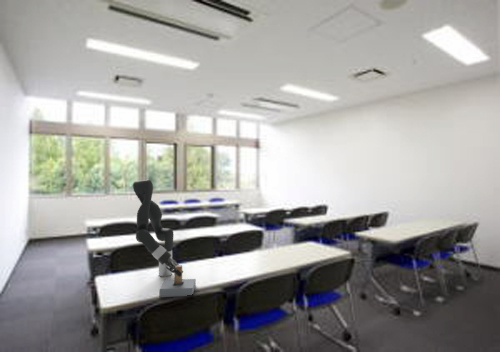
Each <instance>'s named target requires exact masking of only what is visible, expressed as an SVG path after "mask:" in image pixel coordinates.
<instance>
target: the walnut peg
mask: <svg viewBox="0 0 500 352" xmlns="http://www.w3.org/2000/svg"><path fill="white" fill-rule="evenodd" d="M176 268H177V269H178V270H179V271H180V272H181V273H182V271H183V265H182V264H179V265H176ZM173 274H174V275H173V280H174V283H181V282H182V279H183V273H182V275H181V276H180V277H179V276H178V275H177V274H176V273H173Z"/></svg>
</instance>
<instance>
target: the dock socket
mask: <svg viewBox="0 0 500 352" xmlns="http://www.w3.org/2000/svg"><path fill="white" fill-rule="evenodd" d="M196 280H197V279H196V278H185V279H184V278H182V282H181V283H174V279H164V282H163V283H162V284H161V286H160V287H159V293H158V294H159V295H158V296H159V298H165V297H170V298H171V297H188V296H187V295H192V294H193V295H194V292H195V289H196V286H197V285H196Z"/></svg>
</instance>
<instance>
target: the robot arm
mask: <svg viewBox="0 0 500 352" xmlns="http://www.w3.org/2000/svg"><path fill="white" fill-rule="evenodd" d="M132 189H133V191H134V193H135V196H136V197H137V199H138V200H139V201H140V203H141V204H140V206H139V208H138V210H137V213H136V230H135V240H136V241H137V242H138V243H142V244H143V246H144V247H145V248H146V250H147V251H148V252H149V253H150V254H151V255H152V256H153V258H155V259H156V260H157V261H158V276H160V277H169V276H171V275H173V274H174V273H176V274H177V275H178V276H179V277H180V276H181V275H182V276H183V273H184V270H182V273H181V272H180V271H179V270H178V269H177V268H176V265H180V264H179V263H178V262H177V260H175V258H173V247H174V246H173V245H174V234H175V233H174V230H173V229H172V228H168V227H167V228H164V227H163V225H162V223H161V222H162V221H161V220H162V217H163V213H162V210H161V208H160V206H159V205H158V204H157V202H155V201H153V200H152V198H153V197H152V196H153V192H154V184H153V182H152V180H151V179H141V180H137V181H134V182H133V184H132ZM149 222H150V223H149ZM149 224H151V226H152V229H153V231H154V233H155V237H156V239H157V240H158V241H161V242H164V244H163V245H161V244H160V243H159V242H158V241H157V240H156V239H155V238H154V237H153V235H152V234H151V233H150V232H149Z"/></svg>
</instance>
